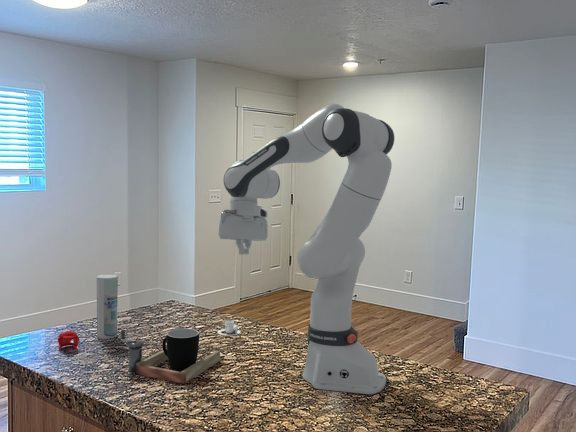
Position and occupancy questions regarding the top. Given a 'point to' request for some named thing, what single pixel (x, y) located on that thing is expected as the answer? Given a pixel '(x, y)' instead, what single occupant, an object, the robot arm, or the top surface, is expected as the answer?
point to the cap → (68, 339)
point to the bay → (149, 369)
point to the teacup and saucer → (229, 328)
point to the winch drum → (133, 351)
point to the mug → (181, 348)
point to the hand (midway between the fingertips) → (244, 254)
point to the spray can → (107, 306)
